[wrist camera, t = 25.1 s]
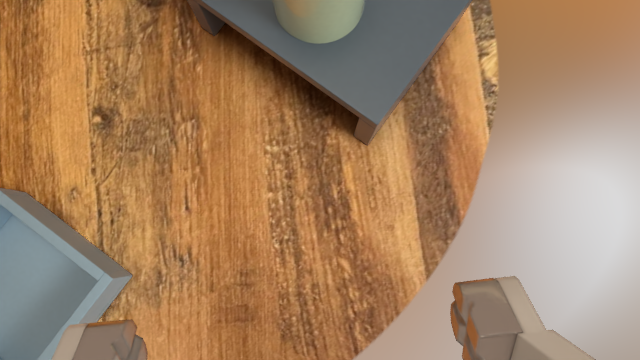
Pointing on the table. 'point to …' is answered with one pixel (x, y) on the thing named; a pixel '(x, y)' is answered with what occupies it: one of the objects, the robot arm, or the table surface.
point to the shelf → (349, 49)
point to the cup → (318, 18)
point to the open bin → (47, 278)
